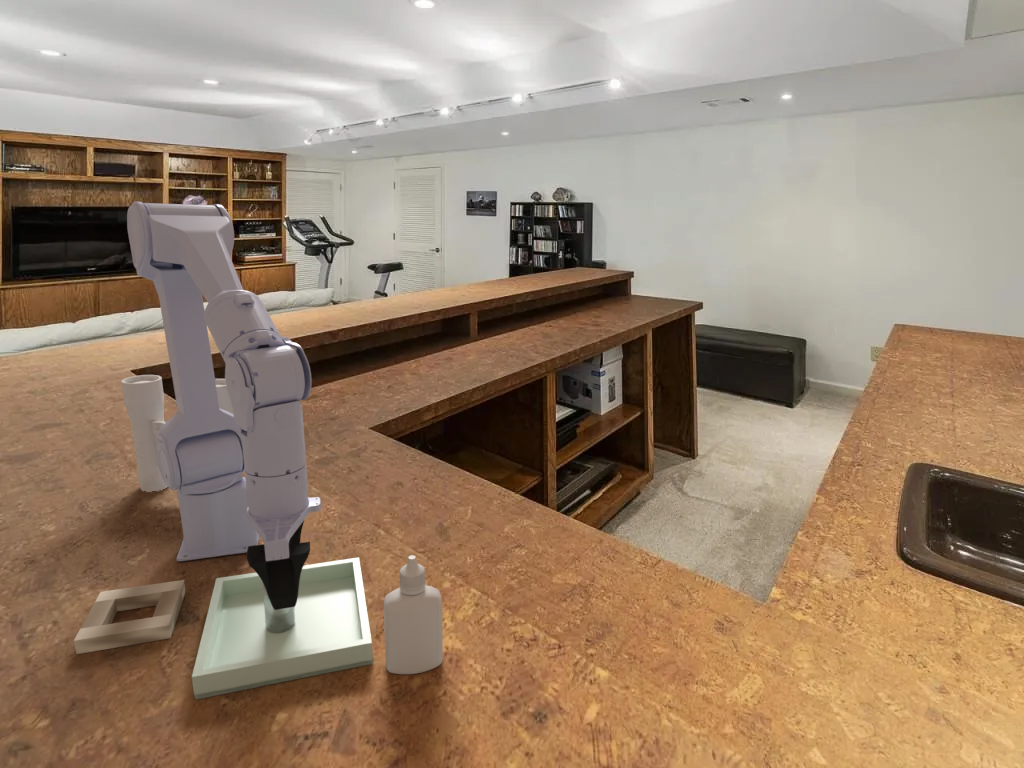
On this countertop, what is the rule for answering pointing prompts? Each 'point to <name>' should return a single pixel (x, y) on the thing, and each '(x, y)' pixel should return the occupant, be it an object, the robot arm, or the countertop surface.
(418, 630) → the eye dropper bottle
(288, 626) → the pin
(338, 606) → the tray
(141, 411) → the binoculars
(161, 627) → the pin collar
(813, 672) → the countertop surface
